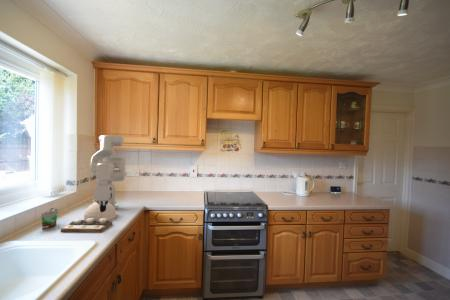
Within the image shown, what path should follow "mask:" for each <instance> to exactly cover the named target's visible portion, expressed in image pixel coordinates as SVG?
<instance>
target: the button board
mask: <svg viewBox="0 0 450 300" xmlns="http://www.w3.org/2000/svg"><path fill="white" fill-rule="evenodd" d="M68 225H103V226H104V227H102V228H101V229H62V228H64V227H66V226H67V225H64V226H63V227H61V228H60V233H103V232H104V231H105V230H107V229H108V228H110V227H111V226H112V225H113V221H111V220H107V221H106V222H103V223H100V222H99V221H97V220H94V221H93V222H89V223H88V222H87V221H85V220H84V219H81V222H80V223H74V220H73V221H70V222H69V223H68Z"/></svg>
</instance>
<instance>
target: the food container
mask: <svg viewBox="0 0 450 300" xmlns="http://www.w3.org/2000/svg"><path fill="white" fill-rule="evenodd" d="M58 214H59V210H58V208H56V207H50V210H47V211H45V212H44V213H43V212H42V213H41V216H40V217H41V229H42V230H47V229H51V228H54V227H56V226H57V220H58Z"/></svg>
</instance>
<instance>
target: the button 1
mask: <svg viewBox="0 0 450 300" xmlns="http://www.w3.org/2000/svg"><path fill="white" fill-rule="evenodd" d="M81 220H82V219H81V218H79V219H74V220H73V221H74V223H80V222H81Z"/></svg>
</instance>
